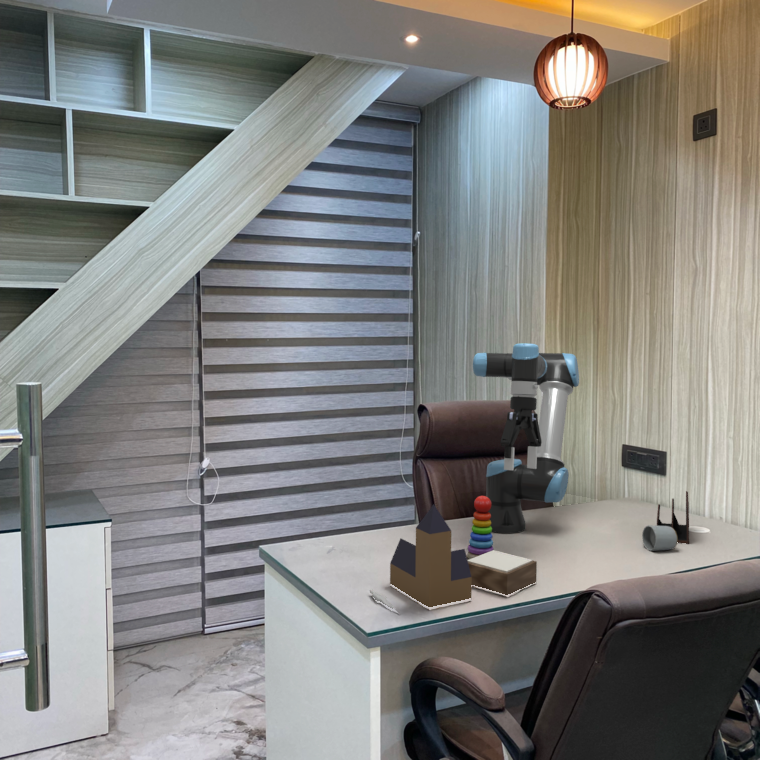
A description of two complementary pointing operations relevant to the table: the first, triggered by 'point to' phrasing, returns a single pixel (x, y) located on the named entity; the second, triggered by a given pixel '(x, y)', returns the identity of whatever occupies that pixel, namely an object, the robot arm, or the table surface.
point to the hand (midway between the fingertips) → (520, 469)
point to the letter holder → (680, 529)
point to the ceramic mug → (659, 538)
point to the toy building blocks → (431, 565)
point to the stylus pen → (381, 598)
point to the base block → (502, 572)
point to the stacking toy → (481, 529)
